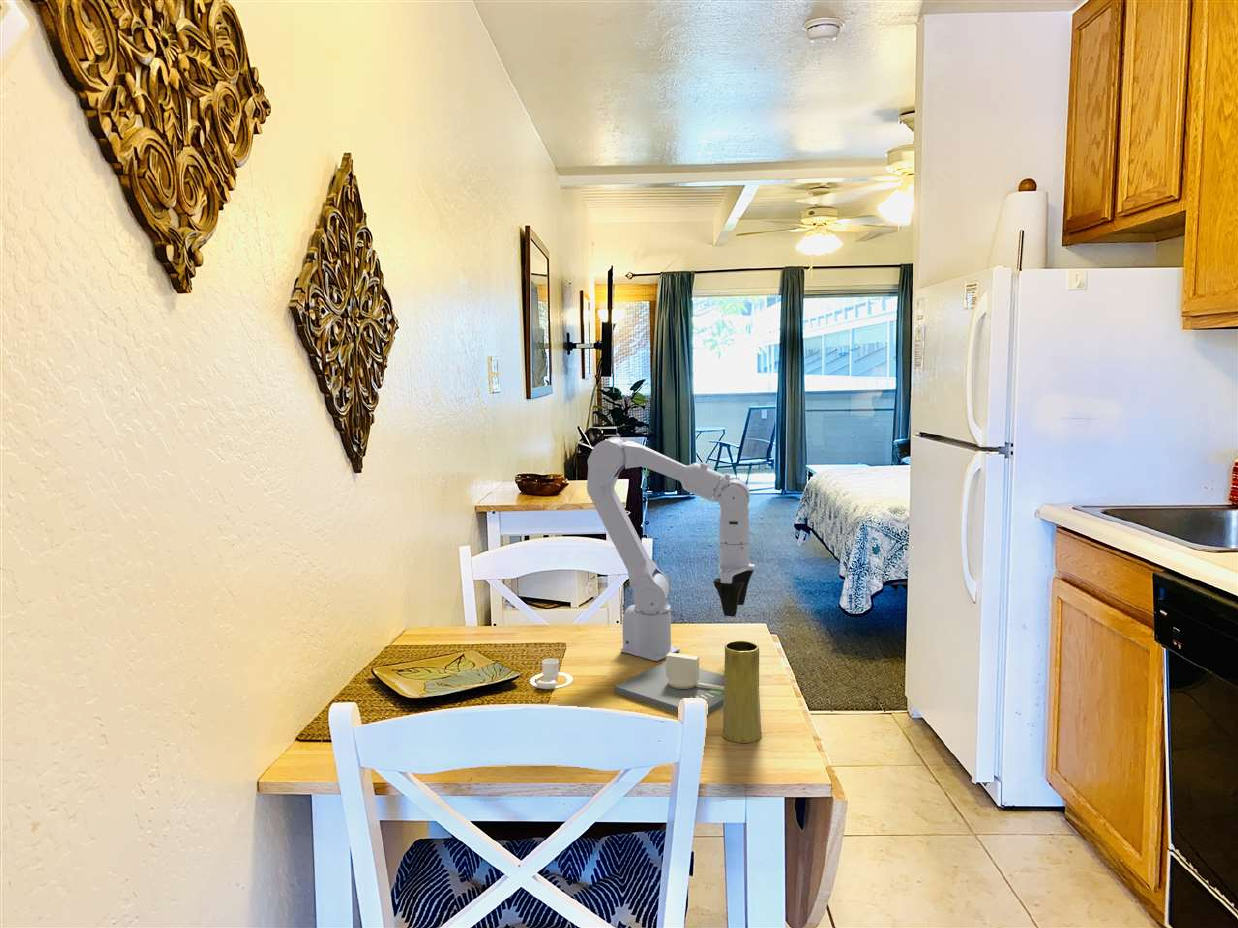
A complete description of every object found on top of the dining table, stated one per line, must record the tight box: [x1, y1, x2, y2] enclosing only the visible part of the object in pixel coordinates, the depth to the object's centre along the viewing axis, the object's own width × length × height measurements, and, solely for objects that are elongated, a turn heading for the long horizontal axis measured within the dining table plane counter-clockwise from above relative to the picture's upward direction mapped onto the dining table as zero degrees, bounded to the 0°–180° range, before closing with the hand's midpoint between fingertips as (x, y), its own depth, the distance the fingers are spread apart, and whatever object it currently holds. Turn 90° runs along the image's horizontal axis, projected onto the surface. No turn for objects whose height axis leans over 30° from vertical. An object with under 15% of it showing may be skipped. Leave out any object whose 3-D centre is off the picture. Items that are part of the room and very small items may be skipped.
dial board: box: [613, 661, 724, 716], centre depth 140 cm, size 18×16×1 cm
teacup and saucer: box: [529, 657, 574, 690], centre depth 146 cm, size 9×8×4 cm
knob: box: [665, 652, 724, 690], centre depth 139 cm, size 11×5×5 cm, turn 65°
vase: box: [721, 639, 762, 744], centre depth 122 cm, size 6×6×14 cm
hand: (734, 609), depth 155 cm, fingers open, 7 cm apart
